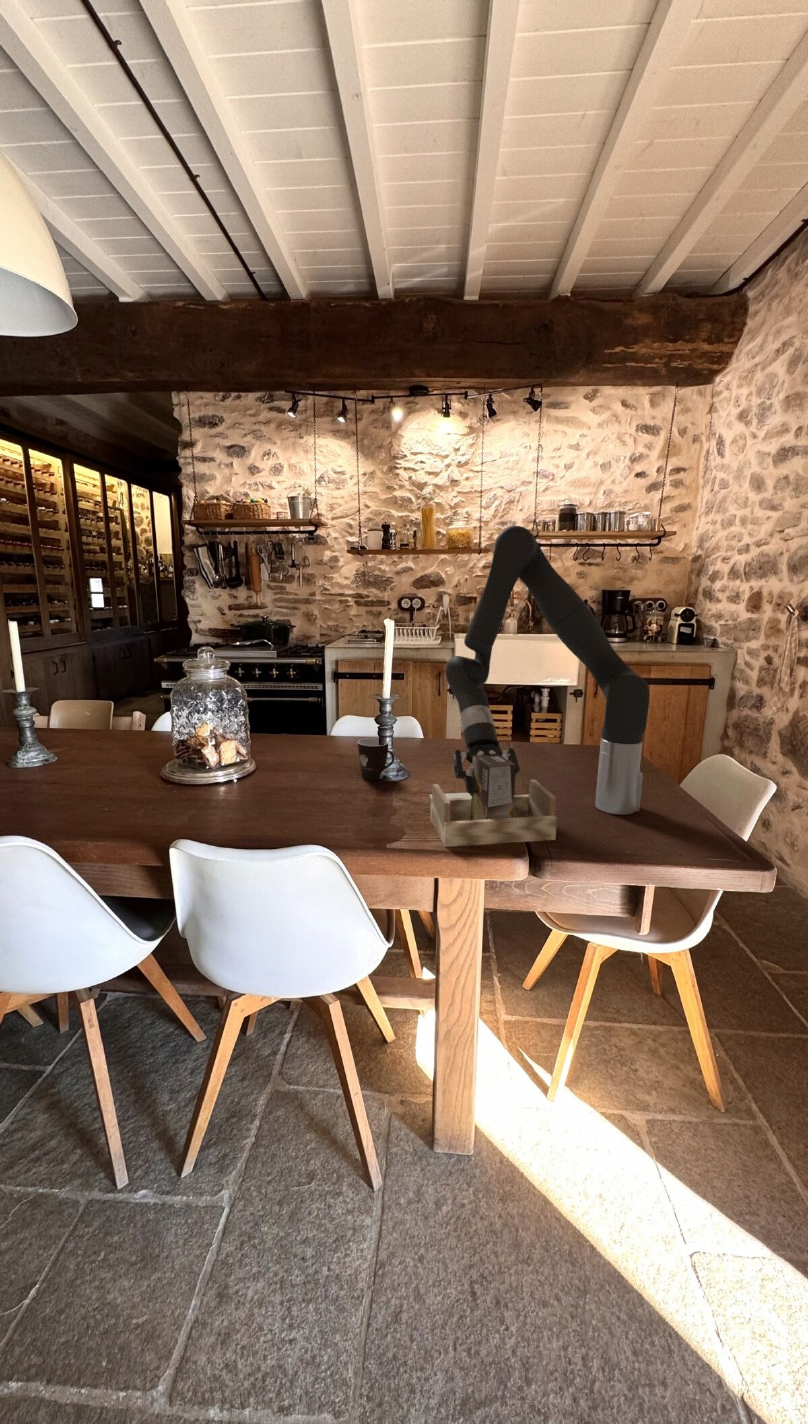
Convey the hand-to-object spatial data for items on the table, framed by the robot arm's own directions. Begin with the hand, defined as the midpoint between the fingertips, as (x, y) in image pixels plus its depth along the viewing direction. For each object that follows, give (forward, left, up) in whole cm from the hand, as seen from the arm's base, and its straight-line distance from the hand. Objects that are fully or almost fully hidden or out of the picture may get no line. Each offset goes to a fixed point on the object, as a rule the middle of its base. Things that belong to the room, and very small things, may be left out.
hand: (491, 793), depth 127 cm
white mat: (0, -16, -8) cm, 18 cm away
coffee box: (0, 0, -9) cm, 9 cm away
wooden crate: (0, 0, -8) cm, 8 cm away
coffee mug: (+21, -38, -9) cm, 44 cm away
